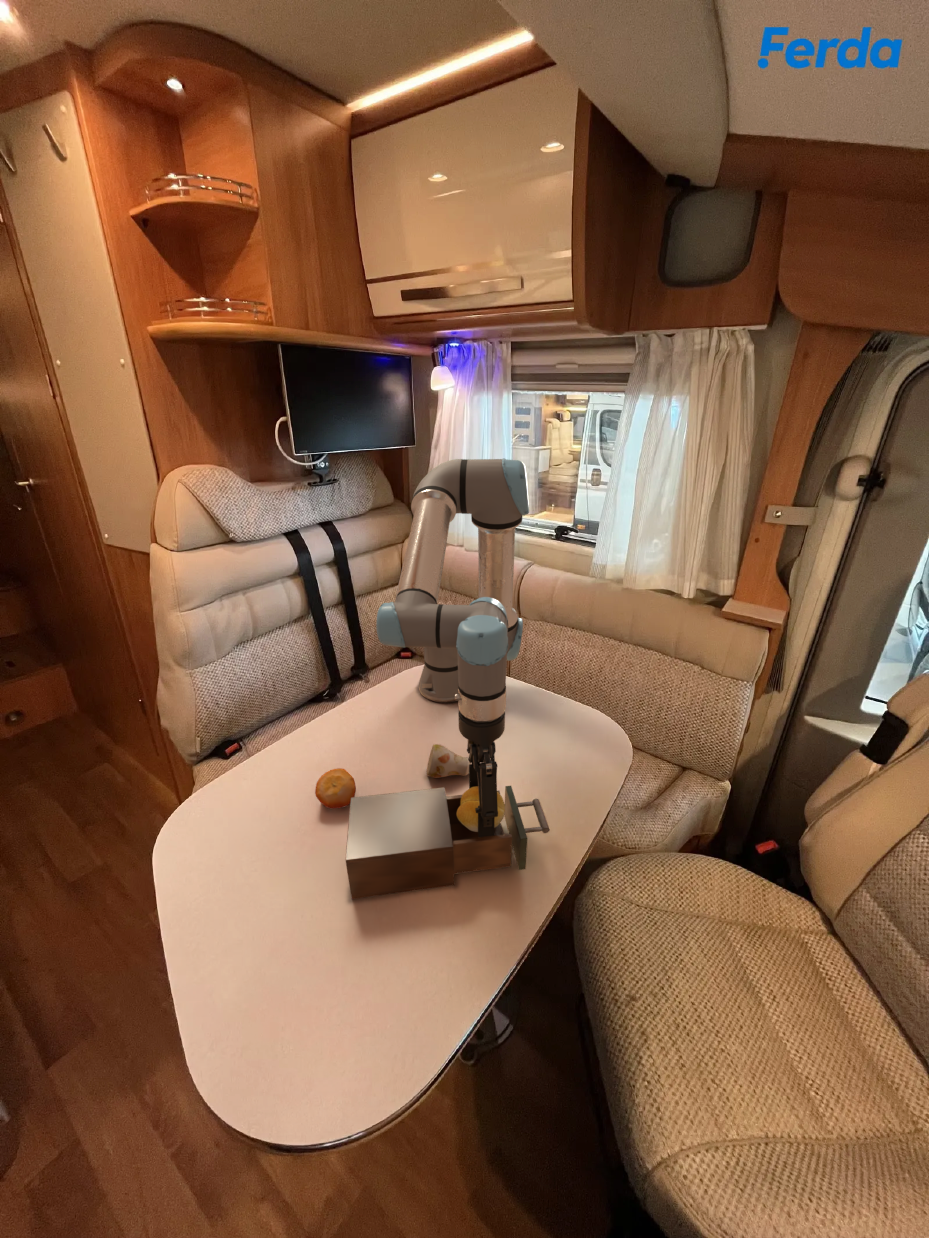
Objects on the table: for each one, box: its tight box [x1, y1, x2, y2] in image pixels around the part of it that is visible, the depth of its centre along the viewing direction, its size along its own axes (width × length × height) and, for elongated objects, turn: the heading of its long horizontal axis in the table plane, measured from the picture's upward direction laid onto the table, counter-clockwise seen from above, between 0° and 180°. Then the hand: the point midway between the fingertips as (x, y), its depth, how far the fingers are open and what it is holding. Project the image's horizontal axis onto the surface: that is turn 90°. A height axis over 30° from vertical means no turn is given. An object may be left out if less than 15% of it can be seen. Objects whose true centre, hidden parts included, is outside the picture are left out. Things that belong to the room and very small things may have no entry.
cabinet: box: [345, 786, 455, 900], centre depth 90 cm, size 18×14×10 cm
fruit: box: [314, 767, 357, 810], centre depth 104 cm, size 8×8×8 cm
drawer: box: [446, 785, 551, 875], centre depth 92 cm, size 21×12×8 cm, turn 98°
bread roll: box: [457, 786, 505, 832], centre depth 89 cm, size 8×9×4 cm
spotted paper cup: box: [426, 743, 471, 779], centre depth 110 cm, size 8×10×10 cm
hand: (481, 811), depth 90 cm, fingers closed on bread roll, 9 cm apart
